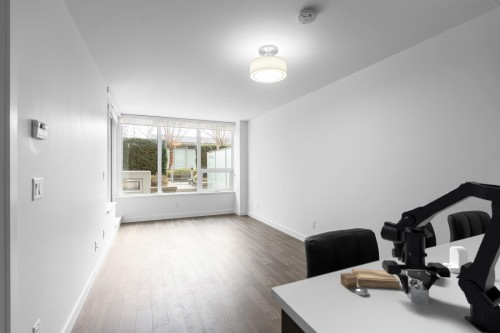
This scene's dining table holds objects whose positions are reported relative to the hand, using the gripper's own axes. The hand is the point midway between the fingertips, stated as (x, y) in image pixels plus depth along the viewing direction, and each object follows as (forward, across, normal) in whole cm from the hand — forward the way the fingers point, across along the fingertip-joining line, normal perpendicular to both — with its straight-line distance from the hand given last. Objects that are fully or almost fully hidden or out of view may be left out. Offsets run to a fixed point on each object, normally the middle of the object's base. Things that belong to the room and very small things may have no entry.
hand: (414, 294), depth 82 cm
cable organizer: (+1, -29, -26) cm, 39 cm away
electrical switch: (+1, -14, -16) cm, 21 cm away
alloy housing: (+1, 0, 0) cm, 1 cm away
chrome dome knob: (+1, +17, 0) cm, 17 cm away
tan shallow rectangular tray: (+1, +10, -10) cm, 14 cm away
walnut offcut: (+1, +20, -5) cm, 21 cm away
